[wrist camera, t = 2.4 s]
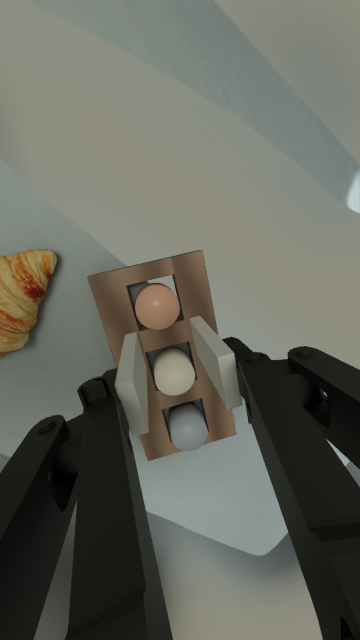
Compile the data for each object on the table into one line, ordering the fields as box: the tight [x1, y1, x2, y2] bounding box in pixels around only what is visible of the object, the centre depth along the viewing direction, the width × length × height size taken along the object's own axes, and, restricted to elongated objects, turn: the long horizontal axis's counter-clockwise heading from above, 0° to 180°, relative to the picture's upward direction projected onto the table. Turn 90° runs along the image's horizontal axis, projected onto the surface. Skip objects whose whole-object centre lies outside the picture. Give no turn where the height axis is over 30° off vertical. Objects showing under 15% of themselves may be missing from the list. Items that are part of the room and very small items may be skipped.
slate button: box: [169, 404, 208, 451], centre depth 34 cm, size 5×5×4 cm
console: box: [87, 250, 236, 461], centre depth 34 cm, size 14×28×2 cm, turn 13°
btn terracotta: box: [135, 283, 180, 330], centre depth 29 cm, size 5×5×4 cm
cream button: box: [154, 348, 195, 396], centre depth 32 cm, size 5×5×4 cm
